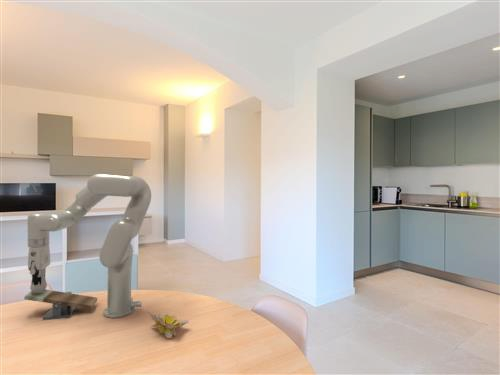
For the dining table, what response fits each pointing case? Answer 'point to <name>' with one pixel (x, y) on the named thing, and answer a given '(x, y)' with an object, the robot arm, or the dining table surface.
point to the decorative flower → (167, 324)
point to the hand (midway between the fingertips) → (38, 284)
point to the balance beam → (63, 298)
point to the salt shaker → (39, 287)
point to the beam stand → (59, 311)
